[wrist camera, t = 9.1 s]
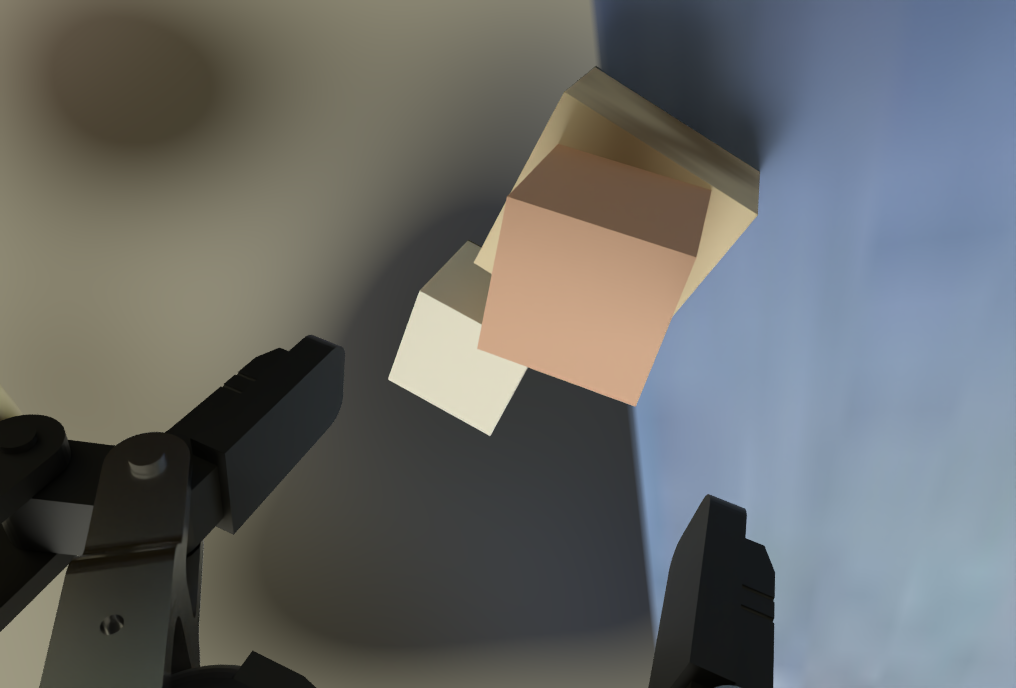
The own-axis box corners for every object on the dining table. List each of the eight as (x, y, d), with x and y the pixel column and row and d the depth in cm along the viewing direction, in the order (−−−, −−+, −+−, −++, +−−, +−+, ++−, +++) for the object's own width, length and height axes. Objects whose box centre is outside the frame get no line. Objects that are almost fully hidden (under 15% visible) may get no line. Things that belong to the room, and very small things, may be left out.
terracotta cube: (711, 190, 20) (696, 257, 16) (659, 322, 23) (635, 406, 19) (558, 143, 21) (507, 196, 17) (526, 277, 24) (476, 348, 20)
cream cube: (568, 293, 28) (534, 353, 24) (525, 371, 31) (490, 435, 27) (468, 239, 29) (419, 290, 25) (436, 322, 32) (388, 379, 28)
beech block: (759, 170, 23) (757, 214, 20) (650, 306, 28) (632, 363, 24) (596, 65, 23) (564, 91, 20) (512, 218, 28) (473, 262, 24)
